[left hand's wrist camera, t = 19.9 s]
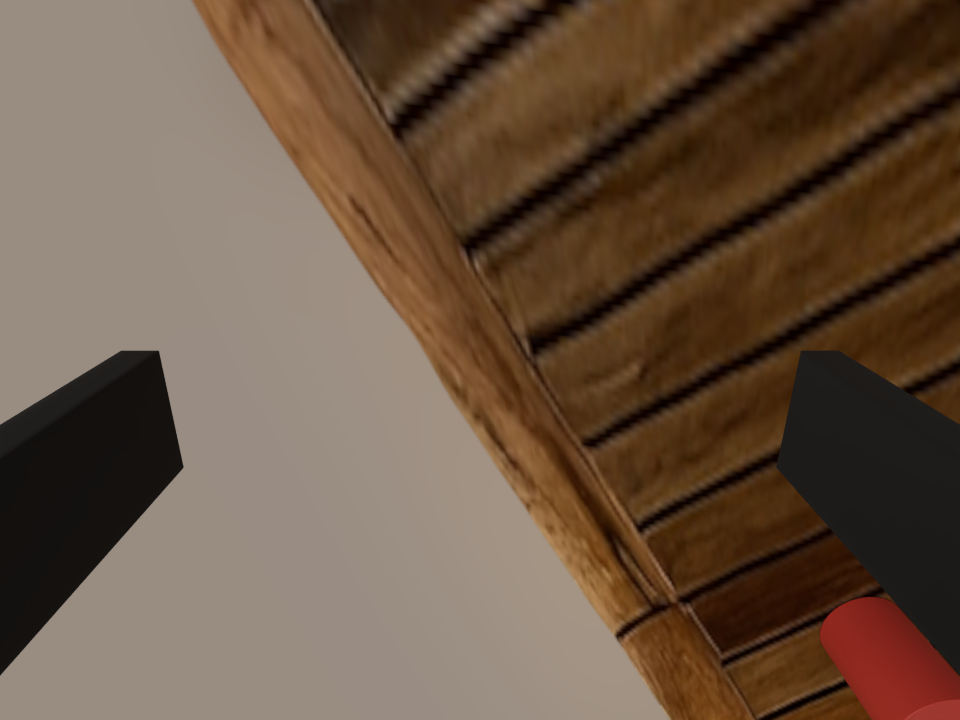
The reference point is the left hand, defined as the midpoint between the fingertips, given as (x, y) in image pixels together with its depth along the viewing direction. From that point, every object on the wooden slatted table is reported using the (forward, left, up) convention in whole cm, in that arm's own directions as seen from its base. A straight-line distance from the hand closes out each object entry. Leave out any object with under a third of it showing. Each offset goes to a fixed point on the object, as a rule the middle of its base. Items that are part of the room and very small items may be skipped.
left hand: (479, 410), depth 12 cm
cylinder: (-6, +47, -27) cm, 55 cm away
